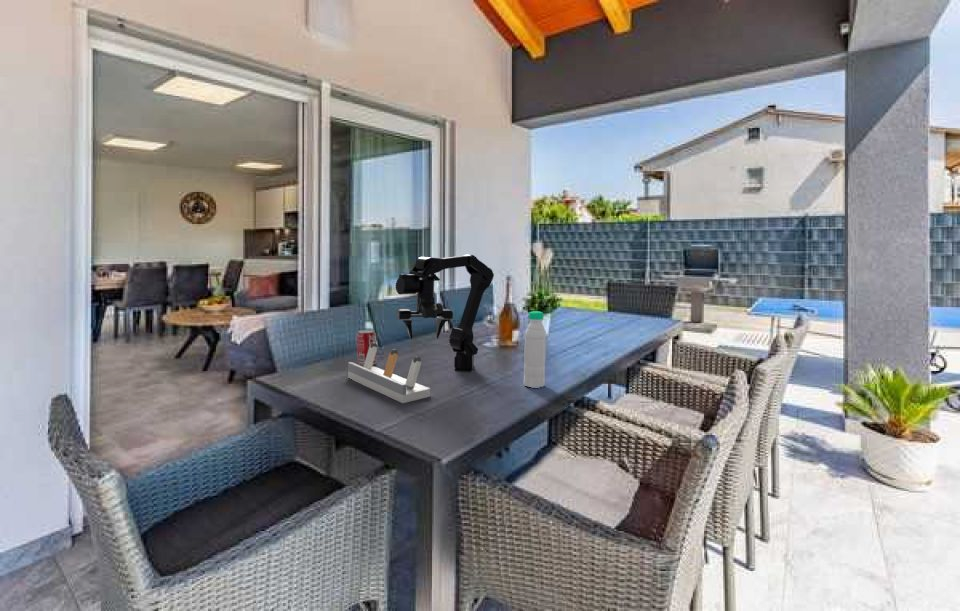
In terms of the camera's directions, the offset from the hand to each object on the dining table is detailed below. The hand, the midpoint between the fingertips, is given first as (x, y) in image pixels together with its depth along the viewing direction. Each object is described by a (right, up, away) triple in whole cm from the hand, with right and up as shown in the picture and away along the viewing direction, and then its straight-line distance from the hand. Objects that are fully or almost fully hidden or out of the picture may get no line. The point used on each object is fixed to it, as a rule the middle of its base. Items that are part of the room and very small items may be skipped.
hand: (424, 338), depth 169 cm
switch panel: (-11, -15, -9) cm, 21 cm away
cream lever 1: (-20, -11, 0) cm, 22 cm away
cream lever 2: (-2, -13, -19) cm, 24 cm away
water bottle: (+37, -16, -6) cm, 41 cm away
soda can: (-24, -11, +18) cm, 32 cm away
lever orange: (-11, -12, -10) cm, 19 cm away
